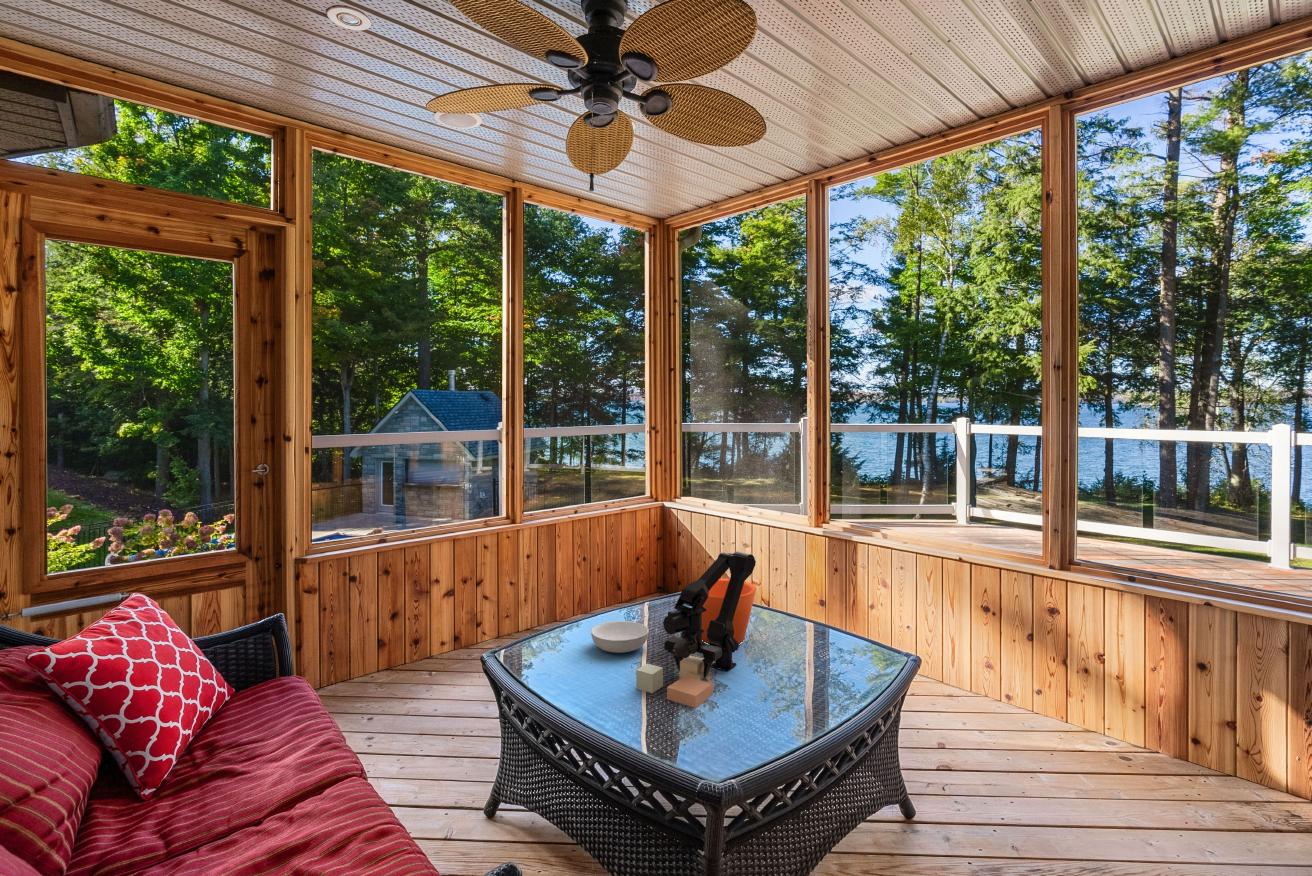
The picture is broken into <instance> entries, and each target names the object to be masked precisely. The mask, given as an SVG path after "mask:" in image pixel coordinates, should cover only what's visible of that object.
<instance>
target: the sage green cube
mask: <svg viewBox="0 0 1312 876" xmlns="http://www.w3.org/2000/svg"><path fill="white" fill-rule="evenodd" d="M635 671H636V672H635V675H636V677H635V680H636V681H635V683H636V685H635V689H637V690H640V691H644V692H646V693H650V694H654V693H655V692H657V691H658V690H660V689H661V688H662V687H664V667H662V666H657V665H655V664H650V663H646V664H643V665H642V666H640V667H639V668H637V669H635Z"/></svg>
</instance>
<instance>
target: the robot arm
mask: <svg viewBox="0 0 1312 876" xmlns="http://www.w3.org/2000/svg"><path fill="white" fill-rule="evenodd" d="M756 562H757V561H756V558H755V556H754V555H753V554H750V553H747V552H742V551H738V550H737V551H734V552H733V553H732V552H731V553H730V552H729V553H728V552H720V553H719V554H718V556H717V558H716V560H714V562H713V563H711V565H710V566H709V567H708V568H707V569H706V570H705V572H704V573H703V574H702V575H701V576H700V577H699V578H697V580H695V581H693V582H689V583H688V584H687V585H686V586H684V588H683V589H681V592H680V595H679V597H678V599H677V601H676V603H675V605H674V607H673V608H674V610H671V611H667V616H665V617H664V618H663V621H662V624H663V626H662V627H663V628H664V631H665V632H666V633H667V635H674V634H678V633H680V634H681V636H680V637H677V636H672V637H670V638H668V639H667V640H665V641H664V644H663V649H664V650H665V651H667V653H669V654H671V656H673V659H674V661H675V664H676V666H677V670H678V672H679V673H680V661H682V660H683V659H685V658H688V657H689V655H690V656H691V655H692V656H693V655H695V654H696V653H698V654H701V655H702V657H703V658H702V659H703V660H702V661H703V663H704V679H706V678H707V677H708V675H709V672H710V670H711V668H715V669H718V670H722V671H726V672H729V671H730V670H732V669H733V668H734V667H736V666H737V663H736V662H733V653H736V651H738V650H739V647H740V645H739V643H738V642H737V641H736V640H735V639H734V638H733V635H734V628H733V623H732V622H733V618H734V615H735V611H736V608H737V605H738V601H739V598H740V595H741V591H742V588H743V585H744V582H746V580H748V578H749V577H750V576H751V575H752V574H753V572H754V569H755V567H756V565H757V564H756ZM728 570H729V573H730V577H729V579H730V580H729V583H728V587H727V590H726V593H725V596H724V600H723V603H722V606H721V609H720V613H719V616H718V617H717V618H716V619H715V620H714V621H713V620H711V621H710V623H709V627H708V629H707V638H708V641H709V643H710V645H708V647H704V644H705V643H704V641H702V633H703V632H704V629H702V612H705V611H707V609H706V608H704V607H703V605H704V603H705V602H706V600H707V598H708V596H709V591H710V589H711V588H712V587H713V586H714V585H715V583H716V582H717V581H718V580H719V579H720V578H722V577H723V576H724V574H725V573H727V571H728ZM702 646H703V647H702Z"/></svg>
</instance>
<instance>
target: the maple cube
mask: <svg viewBox="0 0 1312 876" xmlns="http://www.w3.org/2000/svg"><path fill="white" fill-rule="evenodd" d="M703 659H704V658H701V657H697V656H693V655H691V654H690V655H689V657H688V658H683V660H682V661H680V672H679V679H680V678H682V677H683V676H688V677H691V678H695V679H698V680H702V681H703V680H704V679H705V678H704V663H703V661H702V660H703Z"/></svg>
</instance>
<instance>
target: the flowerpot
mask: <svg viewBox="0 0 1312 876" xmlns="http://www.w3.org/2000/svg"><path fill="white" fill-rule="evenodd" d="M729 580H730V578H724V577H723V578H722V577H721V578H720V579H719V580H718V581H717V582H716V583H715V585H714V586H713V587H712V588H711V589H710V591H709V596H708V598H707V600H706V602H705V603H704V605H703V607H704V608H706V609H707V611H705V612H702V629H704V632H703V633H702V640H703V641H704V642H706V643H708V644H710V643H709V641H708V638H707V629H708V627H709V623H710V621H711V620H713V621H714V620H715V619H716V618H717V617H718V616H719V613H720V609H721V606H722V603H723V600H724V596H725V593H726V590H727V587H728V583H729ZM756 590H757V587H756V586H755V585H754V584H752V583H751V582H748V581H745V582H744V585H743V588H742V591H741V595H740V598H739V601H738V605H737V608H736V611H735V615H734V618H733V622H732V623H733V628H734V635H733V638H734V639H735V640H736V641H737V642H738V643H739V644H740V643H741V642H743V640H744V641H745V637H746V634H747V633H746V632H747V629H748V626H749V622H750V621H749V620H750V617H751V611H752V608H753V604H754V600H755V599H754V598H755V595H756ZM743 643H744V642H743ZM740 645H741V644H740Z"/></svg>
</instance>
